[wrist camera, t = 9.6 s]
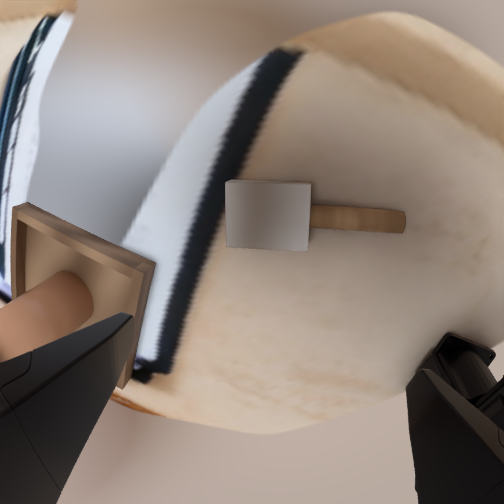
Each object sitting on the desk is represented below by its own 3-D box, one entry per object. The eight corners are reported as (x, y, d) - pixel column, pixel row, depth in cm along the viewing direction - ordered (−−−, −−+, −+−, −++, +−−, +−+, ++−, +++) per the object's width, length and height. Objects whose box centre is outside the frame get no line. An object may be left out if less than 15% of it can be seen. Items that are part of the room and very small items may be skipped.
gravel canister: (84, 266, 24) (-24, 339, 12) (103, 324, 25) (16, 413, 14) (43, 269, 25) (-54, 331, 14) (61, 323, 26) (-21, 395, 15)
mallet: (402, 189, 19) (410, 193, 17) (395, 249, 20) (402, 257, 19) (231, 179, 20) (225, 182, 19) (231, 239, 22) (226, 247, 20)
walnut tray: (155, 263, 23) (143, 273, 21) (131, 376, 28) (122, 389, 26) (27, 201, 24) (12, 206, 22) (25, 312, 28) (13, 321, 26)
